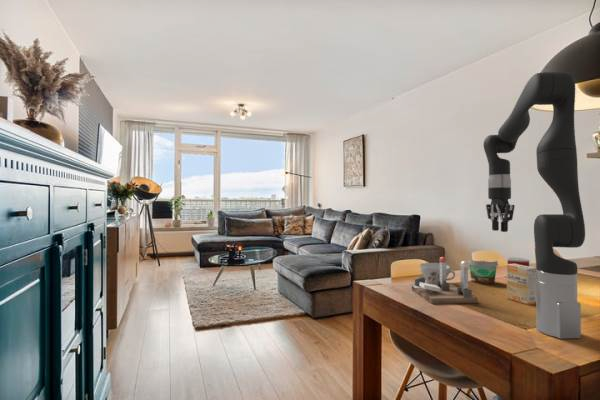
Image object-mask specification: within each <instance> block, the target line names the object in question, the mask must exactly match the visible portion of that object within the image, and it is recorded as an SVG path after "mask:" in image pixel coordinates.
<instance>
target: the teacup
mask: <svg viewBox="0 0 600 400" xmlns="http://www.w3.org/2000/svg"><path fill="white" fill-rule="evenodd" d="M419 269H420V272H421V277H425V282H426V283H427V284H437V281H440V262H425V263H423V262H422V263H420V264H419ZM450 273H451V274H453V276H452V277H449V278H448V276H449V274H450ZM455 277H456V272H455V271H454V270H453V269H451V267H450V265H448V264H446V281H452V280H453V279H455Z"/></svg>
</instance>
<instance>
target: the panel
mask: <svg viewBox="0 0 600 400" xmlns="http://www.w3.org/2000/svg"><path fill="white" fill-rule="evenodd" d="M409 285H410V286H411V290H412V291H413V292H414V291H415V292H414V293H416V294H417V295H419V297H421V298H423V299H424V300H426V302H428V303H430V304H431V305H436V304H437V305H440V304H441V305H442V304H446V305H447V304H478V300H479V299H478V297H477V296H475V295H474V294H472V289H468V290H463V294H461V286H456V285H454V284H453V283H448V282H446V283H441V287H440V281H437V284H432V285H436V286H438V287H440V288H441V290H440V292H438V291H433V290H428V289H424V288H422V287H421V286H417V285H415V283H409Z"/></svg>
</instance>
